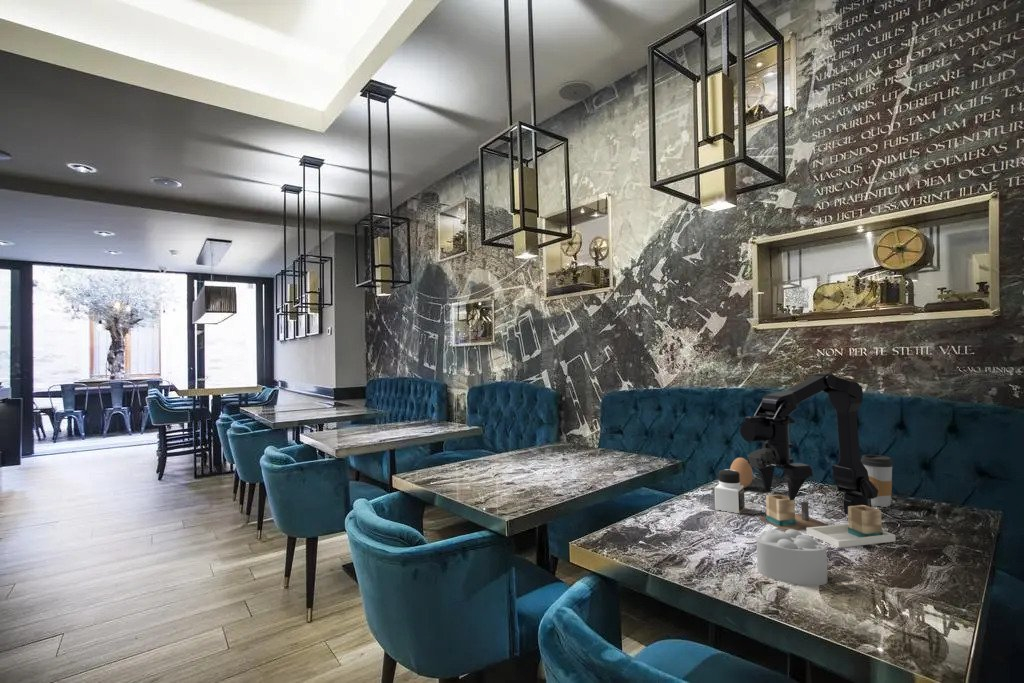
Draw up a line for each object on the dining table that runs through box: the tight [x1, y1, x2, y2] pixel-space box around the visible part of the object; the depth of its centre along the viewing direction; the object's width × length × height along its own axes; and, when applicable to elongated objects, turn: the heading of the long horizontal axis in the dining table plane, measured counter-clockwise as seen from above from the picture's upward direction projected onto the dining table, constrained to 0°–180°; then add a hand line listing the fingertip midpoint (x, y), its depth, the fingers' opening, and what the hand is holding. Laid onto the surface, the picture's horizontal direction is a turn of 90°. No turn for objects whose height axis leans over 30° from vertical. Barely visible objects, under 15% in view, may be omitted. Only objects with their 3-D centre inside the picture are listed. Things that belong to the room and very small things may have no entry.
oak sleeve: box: [765, 493, 796, 526], centre depth 138 cm, size 5×5×7 cm
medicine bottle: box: [714, 468, 746, 514], centre depth 154 cm, size 7×7×12 cm
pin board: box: [758, 501, 829, 532], centre depth 139 cm, size 14×10×6 cm
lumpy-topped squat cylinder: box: [756, 528, 829, 587], centre depth 108 cm, size 10×13×9 cm
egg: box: [729, 457, 754, 489], centre depth 178 cm, size 8×8×11 cm
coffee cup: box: [860, 454, 894, 508], centre depth 156 cm, size 8×8×15 cm
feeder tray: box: [805, 522, 897, 549], centre depth 127 cm, size 17×10×2 cm, turn 102°
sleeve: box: [847, 505, 883, 537], centre depth 128 cm, size 5×5×7 cm
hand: (779, 495), depth 138 cm, fingers open, 9 cm apart
